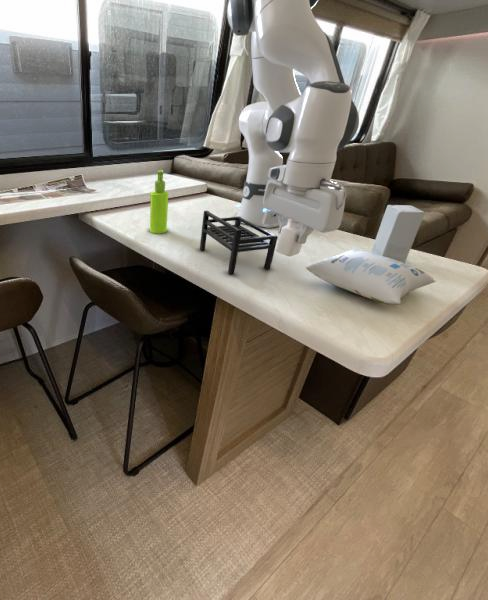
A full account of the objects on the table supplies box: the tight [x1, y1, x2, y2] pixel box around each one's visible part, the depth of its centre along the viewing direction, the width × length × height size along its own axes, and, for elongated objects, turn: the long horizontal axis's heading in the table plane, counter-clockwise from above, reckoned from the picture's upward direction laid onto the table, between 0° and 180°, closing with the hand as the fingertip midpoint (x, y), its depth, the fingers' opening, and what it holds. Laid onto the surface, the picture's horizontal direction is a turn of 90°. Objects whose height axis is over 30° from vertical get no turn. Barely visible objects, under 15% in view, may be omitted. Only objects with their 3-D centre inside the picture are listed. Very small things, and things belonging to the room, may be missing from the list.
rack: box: [199, 210, 279, 276], centre depth 90 cm, size 12×18×12 cm, turn 15°
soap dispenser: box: [149, 169, 169, 234], centre depth 110 cm, size 6×7×20 cm
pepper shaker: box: [275, 218, 303, 257], centre depth 74 cm, size 4×4×10 cm
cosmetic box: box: [370, 204, 426, 264], centre depth 87 cm, size 8×6×15 cm
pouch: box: [304, 249, 437, 305], centre depth 75 cm, size 8×19×20 cm
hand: (291, 238), depth 74 cm, fingers closed on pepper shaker, 4 cm apart
